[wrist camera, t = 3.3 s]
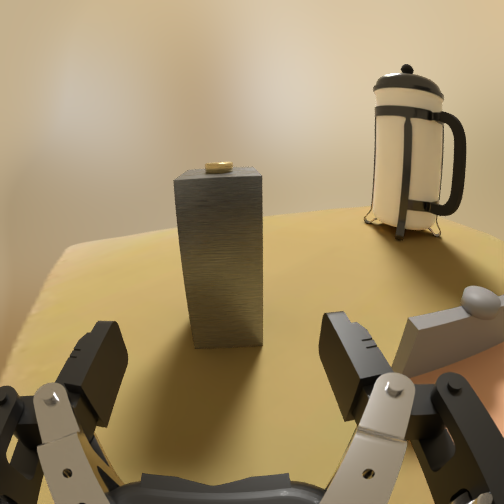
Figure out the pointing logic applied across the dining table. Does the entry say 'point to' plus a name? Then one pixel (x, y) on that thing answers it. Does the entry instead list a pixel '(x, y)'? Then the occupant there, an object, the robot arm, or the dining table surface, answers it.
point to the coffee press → (413, 153)
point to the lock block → (222, 253)
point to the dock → (460, 347)
